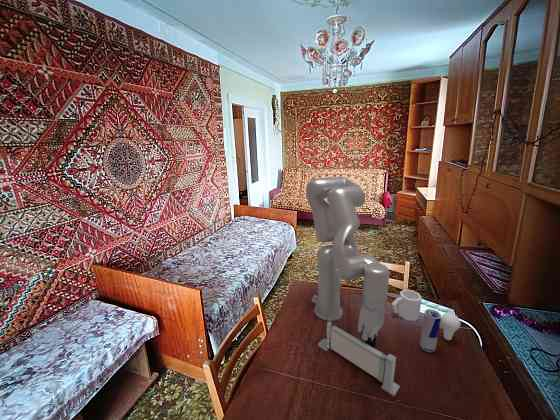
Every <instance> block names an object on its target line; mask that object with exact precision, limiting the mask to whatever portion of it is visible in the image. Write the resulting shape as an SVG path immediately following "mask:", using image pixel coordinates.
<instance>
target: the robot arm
mask: <svg viewBox="0 0 560 420" xmlns="http://www.w3.org/2000/svg"><path fill="white" fill-rule="evenodd" d="M305 195H306V199H307V202H308V205H309V207H310V210H311V212H312V213H311V214H312V219H313V223H314V228H315V229H314V230H315V234H316V238H317V240H318V241H319V242H321V243H332V244H329V245H325V246H322V247H319V249H318V250H317V253H316V262H317V267H318V269H317V270H318V289H317V290H318V291H317V295H316V294H313V296H312V299H311V302H312V303H314V304H315V306H314V308H313V309H314V314H315V315H316V316H317V318H320V319H321V320H323V321H326V322H327V321H331V322H333V321H337V320H340V319H341V318H342V317H343V315H344V309H343V307H342V306H341V305H340V304H341V289H342V288H341V285H342V283H341V282H342V280H344V281H352V280H358V279H361V278H363V284H362V297H361V304H362V305H361V307H360V312H359V317H358V323H357V332H358V333H361V332H362V336H361V339H362V340H363V341H364V343H366V344H368V345H369V346H371V347H373V348H375V349H376V346H377V337H378V333H379V330H380V329H381V328H382V327H383V325H384V324H385V323H384V322H385V317H386V315H385V312H386V309H387V301H388V292H389V283H390V269H389V267H387V266H386V265H385V264H382V263H380V262H379V261H378V259H377V258H376V257H375V256H373V254H371V253H370V254H369V253H364V254H363V253H362V254H359V252H358V248H357V247H358V246H357V242H356V237H355V231H356V230H357V229H359V228H360V226H361V223H360V222H361V221H360V219H359V217H358V214H357V210H356V208H360V207H362V206H364V205H365V203H366V194H365V192H364V190H363V188H362V187H361V186H360V185H358V184H357V183H355V182H353V180H350V179H349V178H347V177H345V176H333V177H332V176H331V177H318V178H314V179H311V180H310V181H309V182H307V185H306V187H305ZM325 199H327V201H326V200H325Z"/></svg>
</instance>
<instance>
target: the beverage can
mask: <svg viewBox="0 0 560 420" xmlns="http://www.w3.org/2000/svg"><path fill="white" fill-rule="evenodd" d="M423 314H424V315H423V320H422V327H421V334H420V338H419V339H420V341H419V347H420V348H421V349H422V350H423V351H425V352H427V353H433V352H435V351H436V350H437V343H438V337H439V331H440V327H441V317H442V314H441V313H440V312H438V311H436V310H435V309H429V308H428V309H427V308H426V309H425V310H424V312H423Z"/></svg>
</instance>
